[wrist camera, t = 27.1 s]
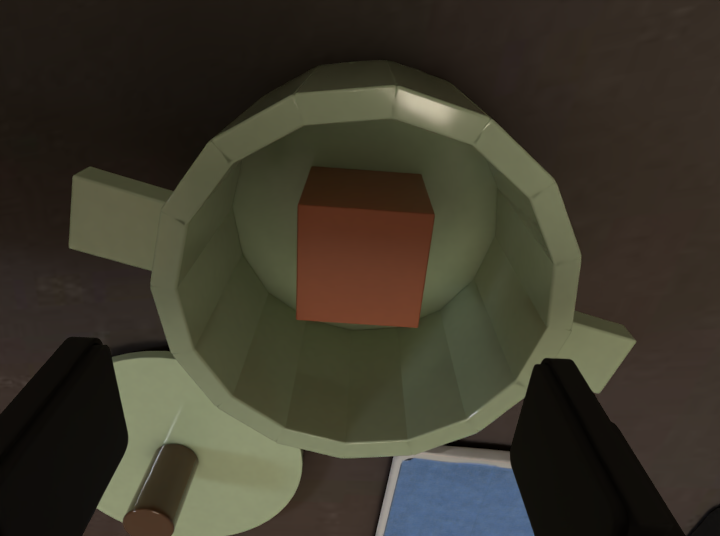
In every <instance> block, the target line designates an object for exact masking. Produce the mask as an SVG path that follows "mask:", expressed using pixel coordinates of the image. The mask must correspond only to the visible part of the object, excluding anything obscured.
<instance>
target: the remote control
mask: <svg viewBox="0 0 720 536" xmlns="http://www.w3.org/2000/svg"><path fill="white" fill-rule="evenodd" d="M691 536H720V508H718V509H716V510H714V511H713V512H711V513H710V514H709V515H708V517H707V518H706V519H705V520H704V521H703V522H702V523H701V524H700V526H699V527H698V528H697V529H696V530H695V531H694V532H693V534H692V535H691Z"/></svg>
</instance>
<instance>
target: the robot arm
mask: <svg viewBox="0 0 720 536" xmlns="http://www.w3.org/2000/svg"><path fill="white" fill-rule="evenodd" d="M127 446H128V431H127V426H126V421H125V417H124V412H123V407H122V403H121V398H120V393H119V389H118V384H117V379H116V375H115V370H114V366H113V361H112V356H111V352H110V348H109V347H108V346H107V345H103V344H102V342H101V340H100V339H98V338H85V337H70V338H67V339H66V340H65V341H64V342H63V343H62V345H61V346H60V347H59V348H58V349H57V350H56V351H55V353H54V354H53V355H52V356H51V357H50V358H49V359H48V361H47V362H46V363H45V364H44V365H43V366H42V367H41V369H40V370H39V371H38V372H37V373H36V374H35V375H34V377H33V378H32V379H31V380H30V381H29V382H28V383H27V385H26V386H25V387H24V388H23V389H22V390H21V391H20V393H19V394H18V395H17V396H16V397H15V398H14V399H13V401H12V402H11V403H10V404H9V405H8V406H7V407H6V409H5V410H4V411H3V412H2V413H1V414H0V536H82V535H83V533H84V531H85V529H86V527H87V525H88V523H89V521H90V519H91V517H92V515H93V514H94V512H95V510H96V508H97V506H98V504H99V502H100V500H101V498H102V496H103V494H104V492H105V490H106V489H107V487H108V485H109V483H110V481H111V479H112V477H113V475H114V473H115V471H116V469H117V467H118V465H119V464H120V462H121V460H122V458H123V456H124V454H125V452H126V449H127ZM510 463H511V467H512V470H513V473H514V476H515V479H516V482H517V485H518V488H519V491H520V494H521V497H522V500H523V503H524V506H525V509H526V512H527V515H528V518H529V521H530V524H531V527H532V530H533V533H534V536H685V534H684V533H683V531H682V529H681V528H680V526H679V525H678V523H677V521H676V520H675V518H674V517H673V515H672V513H671V512H670V510H669V509H668V507H667V505H666V504H665V502H664V501H663V499H662V497H661V496H660V494H659V492H658V491H657V489H656V488H655V486H654V484H653V483H652V481H651V480H650V478H649V476H648V475H647V473H646V472H645V470H644V468H643V467H642V465H641V464H640V462H639V460H638V459H637V457H636V455H635V454H634V452H633V451H632V449H631V447H630V446H629V444H628V443H627V441H626V439H625V438H624V436H623V435H622V433H621V431H620V430H619V429H618V427H617V426H616V425H615V424H614V423H613V422H611V421H610V420H609V418H608V416H607V415H606V413H605V411H604V410H603V408H602V406H601V405H600V403H599V402H598V400H597V398H596V397H595V395H594V393H593V392H592V390H591V389H590V387H589V385H588V384H587V382H586V380H585V379H584V377H583V375H582V374H581V372H580V371H579V369H578V367H577V366H576V364H575V363H574V361H573V360H571V359H559V358H544V359H543V360H542V362H541V364H535V365H534V367H533V370H532V373H531V377H530V380H529V384H528V388H527V391H526V395H525V398H524V402H523V406H522V409H521V413H520V416H519V420H518V424H517V427H516V431H515V434H514V438H513V442H512V445H511V449H510Z"/></svg>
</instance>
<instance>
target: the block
mask: <svg viewBox="0 0 720 536" xmlns="http://www.w3.org/2000/svg"><path fill="white" fill-rule="evenodd" d="M434 219H435V213H434V210H433V207H432V204H431V201H430V198H429V195H428V192H427V189H426V186H425V183H424V180H423V177H422V175H421V174H412V173H399V172H385V171H371V170H357V169H344V168H330V167H316V166H312V167H311V169H310V172H309V175H308V177H307V180H306V183H305V186H304V189H303V191H302V194H301V197H300V200H299V203H298V206H297V280H296V319H297V320H304V321H319V322H334V323H349V324H364V325H379V326H395V327H410V328H418V326H419V319H420V312H421V306H422V299H423V292H424V286H425V279H426V272H427V266H428V259H429V252H430V246H431V239H432V232H433V226H434Z"/></svg>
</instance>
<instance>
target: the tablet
mask: <svg viewBox="0 0 720 536" xmlns="http://www.w3.org/2000/svg"><path fill="white" fill-rule="evenodd" d="M375 536H534V533H533V530H532V527H531V524H530V521H529V518H528V515H527V512H526V509H525V506H524V503H523V500H522V497H521V494H520V491H519V488H518V485H517V482H516V479H515V476H514V473H513V470H512V467H511V463H510V451H502V450H492V449H481V448H470V447H458V446H443V445H442V446H439V447H436V448H433V449H430V450H427V451H424V452H421V453H419V454H416V455H413V454H412V455H409V456H393V460H392V465H391V469H390V474H389V478H388V483H387V487H386V492H385V496H384V500H383V504H382V509H381V513H380V517H379V522H378V526H377V530H376V535H375Z"/></svg>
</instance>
